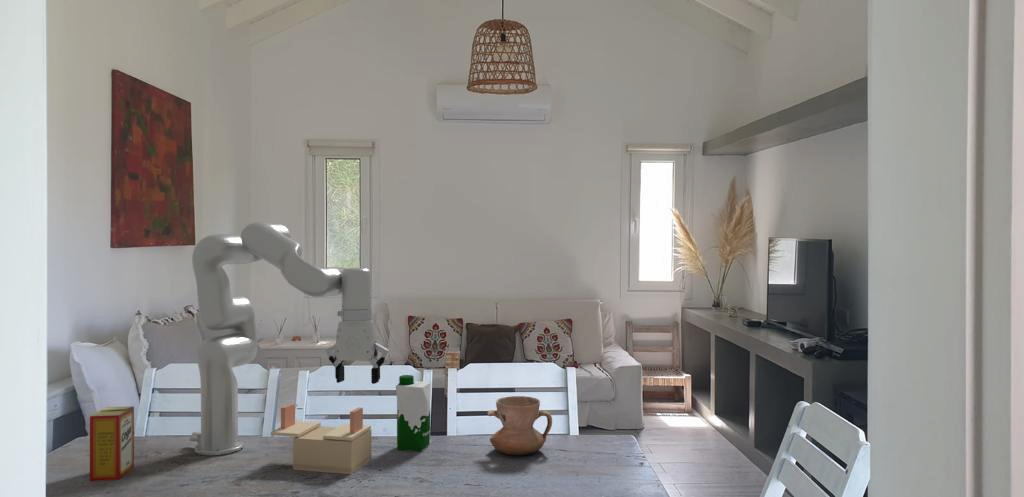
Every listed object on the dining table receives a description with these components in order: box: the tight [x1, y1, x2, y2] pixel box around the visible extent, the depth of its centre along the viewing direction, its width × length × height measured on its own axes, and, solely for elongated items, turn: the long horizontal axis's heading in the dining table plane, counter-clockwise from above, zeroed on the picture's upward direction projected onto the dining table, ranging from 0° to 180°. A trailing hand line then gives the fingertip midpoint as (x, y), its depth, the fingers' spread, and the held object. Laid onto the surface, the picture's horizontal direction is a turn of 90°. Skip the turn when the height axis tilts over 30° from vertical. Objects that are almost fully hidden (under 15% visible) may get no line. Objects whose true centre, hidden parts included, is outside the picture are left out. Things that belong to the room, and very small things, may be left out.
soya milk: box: [395, 374, 432, 452], centre depth 195 cm, size 9×9×20 cm
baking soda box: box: [89, 406, 135, 482], centre depth 171 cm, size 10×6×16 cm
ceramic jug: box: [487, 395, 553, 456], centre depth 191 cm, size 18×14×14 cm
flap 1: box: [270, 403, 322, 438], centre depth 182 cm, size 8×12×6 cm
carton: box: [292, 425, 373, 475], centre depth 179 cm, size 16×12×8 cm
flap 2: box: [323, 407, 372, 441], centre depth 178 cm, size 8×12×6 cm
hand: (357, 382), depth 178 cm, fingers open, 9 cm apart
